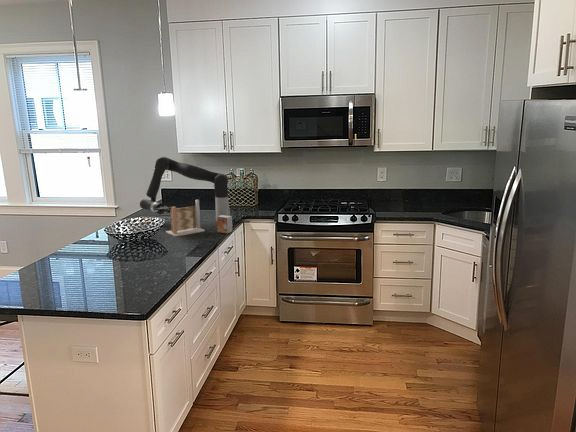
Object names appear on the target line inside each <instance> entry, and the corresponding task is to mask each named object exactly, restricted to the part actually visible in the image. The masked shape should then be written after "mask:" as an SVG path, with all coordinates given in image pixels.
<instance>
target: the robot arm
mask: <svg viewBox="0 0 576 432" xmlns="http://www.w3.org/2000/svg"><path fill="white" fill-rule="evenodd" d="M166 171H170V172H174V173H178V174H179V175H182V176H183V177H186V178H188V179H191V180H195V181H205V182H210V183H213V186H214V189H213V190H214V200H215V221H216V222H217V216H220V215H225V216H231V208H230V205H229V190H228V189H229V187H228V184H229V178H228V176H227V175H226V174H224V173H219V172H214V171H210V170H208V169H206V168H202V167H199V166H196V165H193V164H188V163H185V162H179V161H176V160H173V159H171V158H169V157H165V156H160V157H158V158H157V159H156V161H155V165H154V169H153V175H152V177H151V180H150V183H149V186H148V189H147V191H146V193H145V195H146V196H147V197H148V198H150V199H145V198H144V199H141V200H140V201H139V207H140V208H141V209H143V210H147V211H150V212H153V213H155V214H158V215H163V214H164V213H167V214H171V212H170V209H171V207H173V206H166V204H164V203H163V202H159V201H157V196H158V193H159V190H160V188H161V187H160V186H161V182H162V178H163V176H164V174H165V172H166Z"/></svg>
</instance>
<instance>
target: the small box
mask: <svg viewBox="0 0 576 432" xmlns="http://www.w3.org/2000/svg"><path fill="white" fill-rule="evenodd" d="M216 224H217V225H216V227H217V233H222V234H229V233H232V232H233V216H232V215H230V216H225V215H220V216H217V221H216Z"/></svg>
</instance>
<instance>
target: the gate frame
mask: <svg viewBox="0 0 576 432" xmlns="http://www.w3.org/2000/svg"><path fill="white" fill-rule="evenodd" d="M194 201H195V209H196V228H191V229H186V230H180V231H177V219H176V209H177V207H176V206H172V207H171V206H170V207H171V209H172V228H173V232H172V229H170V230H165V233H166V234H169V235H171V236H174V237H181V236H185V235H191V234H197V233H202V232H206V230H205V229H204V228H201V213H200V199H195V200H194Z"/></svg>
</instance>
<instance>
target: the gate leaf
mask: <svg viewBox="0 0 576 432" xmlns="http://www.w3.org/2000/svg"><path fill="white" fill-rule="evenodd" d="M170 212H171V213H170V224H171V225H170V227H171V228H170V230H172V232H173V228H172V209H170ZM176 219H177V231H180V230H186V229H191V228H196V227H197V226H196V205H192V206H186V207H178V208H177V207H176Z"/></svg>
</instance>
